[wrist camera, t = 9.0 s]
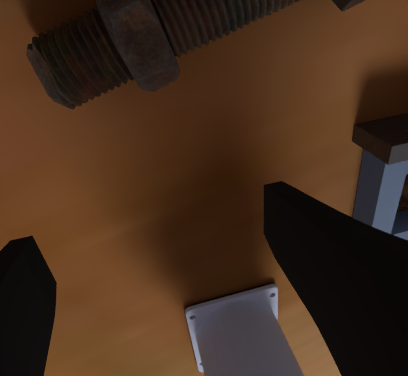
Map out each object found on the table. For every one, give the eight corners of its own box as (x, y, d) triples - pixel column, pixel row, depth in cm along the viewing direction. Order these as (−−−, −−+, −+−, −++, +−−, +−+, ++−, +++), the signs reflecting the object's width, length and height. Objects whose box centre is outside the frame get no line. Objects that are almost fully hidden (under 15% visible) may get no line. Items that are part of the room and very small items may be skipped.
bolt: (52, 46, 17) (319, -85, 16) (95, 135, 18) (358, 11, 17) (-28, -11, 11) (379, -217, 11) (39, 124, 12) (436, -67, 11)
